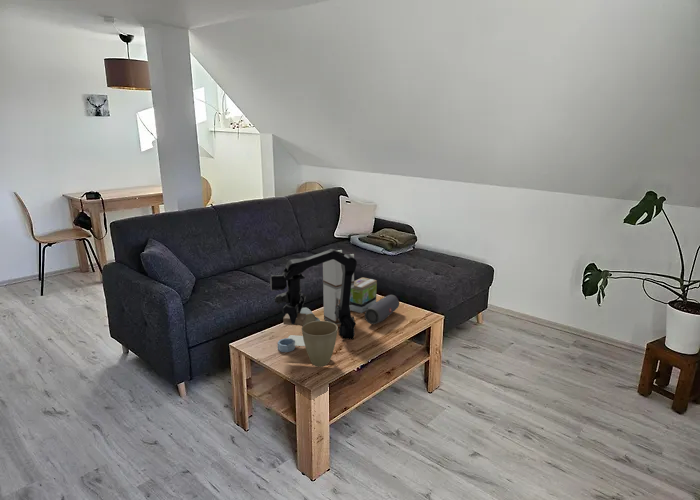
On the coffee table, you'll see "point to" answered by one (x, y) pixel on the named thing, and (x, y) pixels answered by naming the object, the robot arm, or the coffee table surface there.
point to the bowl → (286, 345)
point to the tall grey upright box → (332, 288)
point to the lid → (299, 320)
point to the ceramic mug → (309, 315)
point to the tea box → (363, 294)
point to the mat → (297, 340)
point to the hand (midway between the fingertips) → (295, 320)
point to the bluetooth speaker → (381, 309)
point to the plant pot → (319, 341)
